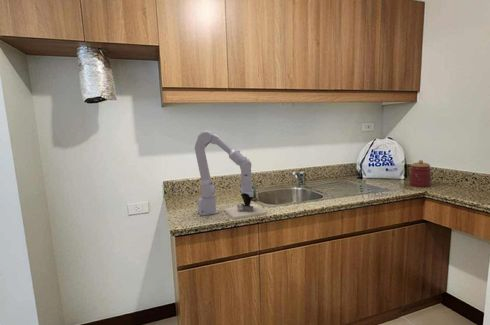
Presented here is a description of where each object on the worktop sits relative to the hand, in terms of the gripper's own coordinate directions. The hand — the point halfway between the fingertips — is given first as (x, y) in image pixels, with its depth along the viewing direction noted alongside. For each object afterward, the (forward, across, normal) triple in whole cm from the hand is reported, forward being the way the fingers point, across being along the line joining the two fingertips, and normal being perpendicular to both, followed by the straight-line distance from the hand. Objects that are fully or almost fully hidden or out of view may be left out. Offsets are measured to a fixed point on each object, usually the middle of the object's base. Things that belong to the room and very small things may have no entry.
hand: (247, 207), depth 146 cm
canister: (+3, -1, -128) cm, 128 cm away
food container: (+3, +23, -11) cm, 25 cm away
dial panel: (+3, 0, +2) cm, 3 cm away
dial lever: (+1, -2, +2) cm, 3 cm away
